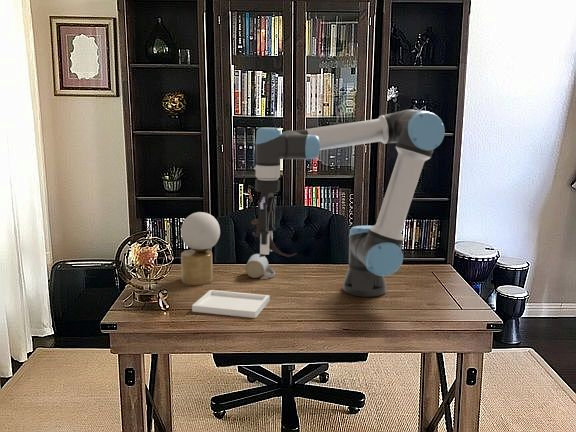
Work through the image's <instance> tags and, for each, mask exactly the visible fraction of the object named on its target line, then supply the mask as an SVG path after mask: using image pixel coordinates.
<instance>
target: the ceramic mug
mask: <svg viewBox="0 0 576 432" xmlns="http://www.w3.org/2000/svg"><path fill="white" fill-rule="evenodd" d="M259 256H260V254H259V253H255V254H252V255H251V256H250V257H249V259H248V261H247V263H246V265H245V272H246V274H247V276H249V277H250V278H252V279H259V278H260V277H262V276H264V277H267V278H273V277H274V276H275V274H276V272H275V270H274V269H272V268H271V267H269V261H268V259H267V257H266V255H265V256H264V257H259ZM266 271H267V272H266Z"/></svg>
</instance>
